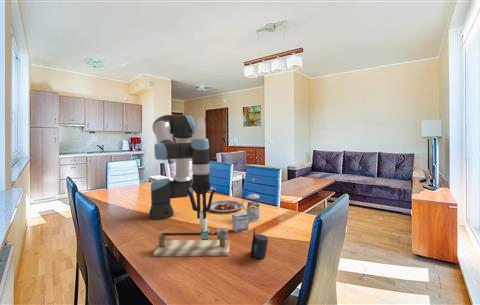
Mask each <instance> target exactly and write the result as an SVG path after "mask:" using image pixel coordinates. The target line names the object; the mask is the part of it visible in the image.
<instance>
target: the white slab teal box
mask: <svg viewBox="0 0 480 305" xmlns="http://www.w3.org/2000/svg"><path fill="white" fill-rule="evenodd" d="M200 233H201V235H200V238H201V239H200V240H210V235H208V233H210V228H209V227H208V217H207V216H206V219H203V227H201V230H200Z"/></svg>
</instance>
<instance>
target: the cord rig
mask: <svg viewBox="0 0 480 305" xmlns="http://www.w3.org/2000/svg"><path fill="white" fill-rule="evenodd" d="M208 235H209V236H216V239H208V240H201V239H182V240H181V239H179V240H178V239H177V240H176V239H174V240H172V239H170V240H167V237H169V236H172V237H173V236H175V237H176V236H177V237H178V236H179V237H181V236H184V237H186V236H193V237H194V236H201V232H161V233H159V235H158V247H157V248H155V250H154V251H153V257H186V256H187V257H190V256H191V257H201V256H203V257H205V256H206V257H210V256H211V257H212V256H215V257H217V256H221V257H222V256H227V257H228V256H229V255H230V245H231V240H230V239H228V236H229V235H228V228H226V227H225V228H221V227H219V228H217V230H216V232H215V231H212V232H211V231H210V232H209V233H208Z"/></svg>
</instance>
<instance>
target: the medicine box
mask: <svg viewBox="0 0 480 305" xmlns="http://www.w3.org/2000/svg"><path fill="white" fill-rule="evenodd" d="M231 218H232V219H231V222H232V226H231V227H232V228H231V229H232V230H233V232H235V233H239V232H240V233H241V232H243V231H244V232H245V231H249V226H250V225H249V222H250V221H249V219H248V214H247V212H239V213H233V214H231Z"/></svg>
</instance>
